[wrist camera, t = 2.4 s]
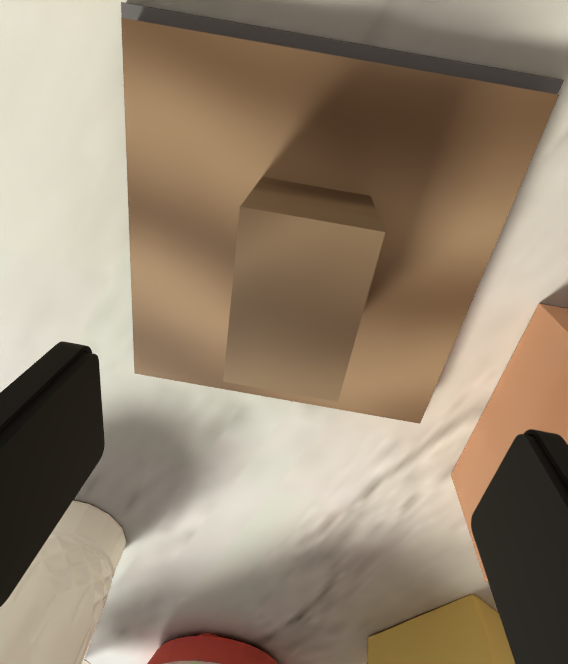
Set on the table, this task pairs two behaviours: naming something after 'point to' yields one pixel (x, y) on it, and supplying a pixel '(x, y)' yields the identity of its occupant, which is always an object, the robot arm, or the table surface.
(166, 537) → the table surface
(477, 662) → the cheese
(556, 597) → the robot arm
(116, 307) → the table surface
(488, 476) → the salmon orange open box
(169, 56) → the lid
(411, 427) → the table surface
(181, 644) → the citrus juicer
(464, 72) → the mat
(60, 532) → the white cup
